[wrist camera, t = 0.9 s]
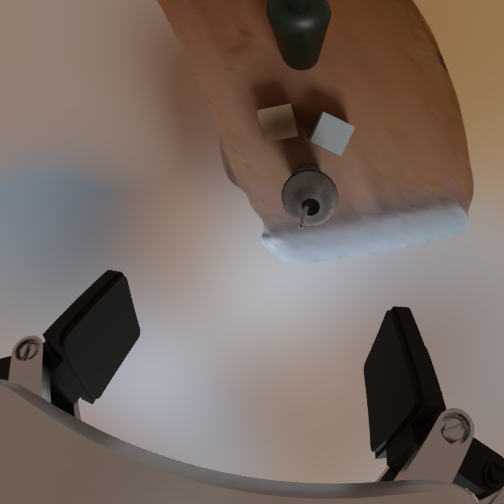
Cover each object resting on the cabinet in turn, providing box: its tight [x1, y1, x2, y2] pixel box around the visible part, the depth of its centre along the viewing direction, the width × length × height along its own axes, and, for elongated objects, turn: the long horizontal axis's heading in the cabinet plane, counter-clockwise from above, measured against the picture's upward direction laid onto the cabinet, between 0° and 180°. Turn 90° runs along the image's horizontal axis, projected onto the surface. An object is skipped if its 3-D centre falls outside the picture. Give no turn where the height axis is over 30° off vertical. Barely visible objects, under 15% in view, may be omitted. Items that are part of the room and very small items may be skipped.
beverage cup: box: [282, 164, 338, 228], centre depth 36 cm, size 7×7×20 cm
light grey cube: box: [309, 112, 355, 156], centre depth 38 cm, size 5×5×5 cm
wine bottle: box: [267, 0, 331, 70], centre depth 22 cm, size 6×6×30 cm
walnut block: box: [257, 104, 299, 143], centre depth 39 cm, size 5×5×5 cm
